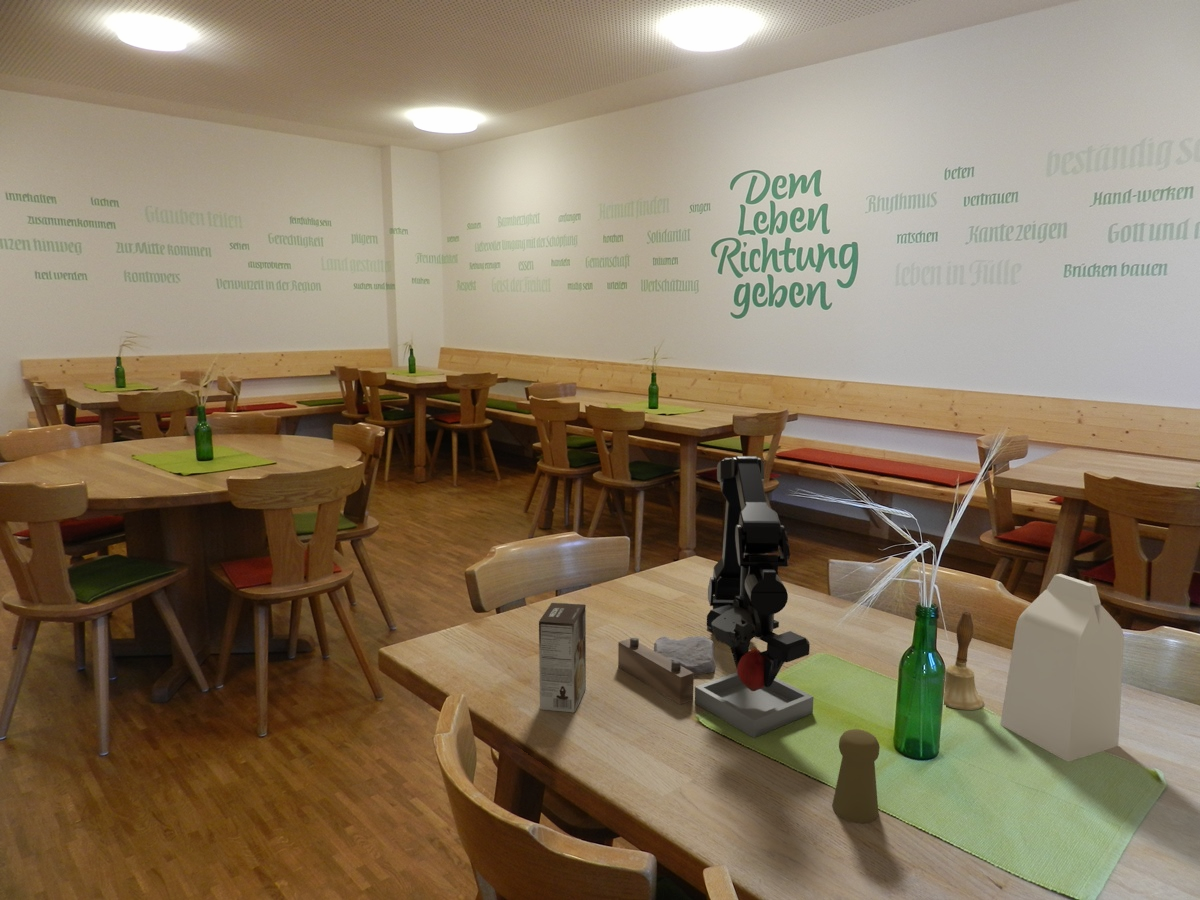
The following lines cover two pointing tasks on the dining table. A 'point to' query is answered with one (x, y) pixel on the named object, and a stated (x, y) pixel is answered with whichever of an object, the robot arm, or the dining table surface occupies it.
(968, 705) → the hand bell
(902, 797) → the dining table surface
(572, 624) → the coffee box
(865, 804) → the brown peg figure
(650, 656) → the bar
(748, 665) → the onion
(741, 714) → the tray
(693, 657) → the stone block
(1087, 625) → the milk
